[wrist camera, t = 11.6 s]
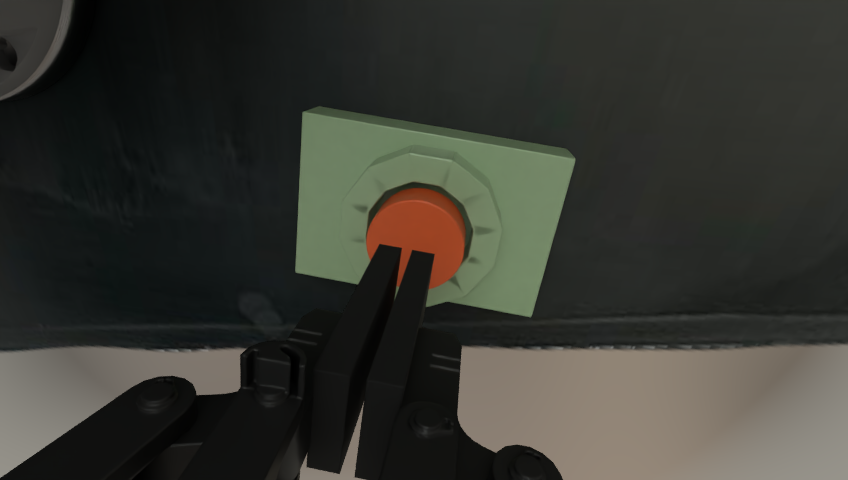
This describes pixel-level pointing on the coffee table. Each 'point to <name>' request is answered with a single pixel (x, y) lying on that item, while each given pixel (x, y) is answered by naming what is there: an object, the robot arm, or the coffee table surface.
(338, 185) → the button block
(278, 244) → the coffee table surface
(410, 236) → the button
